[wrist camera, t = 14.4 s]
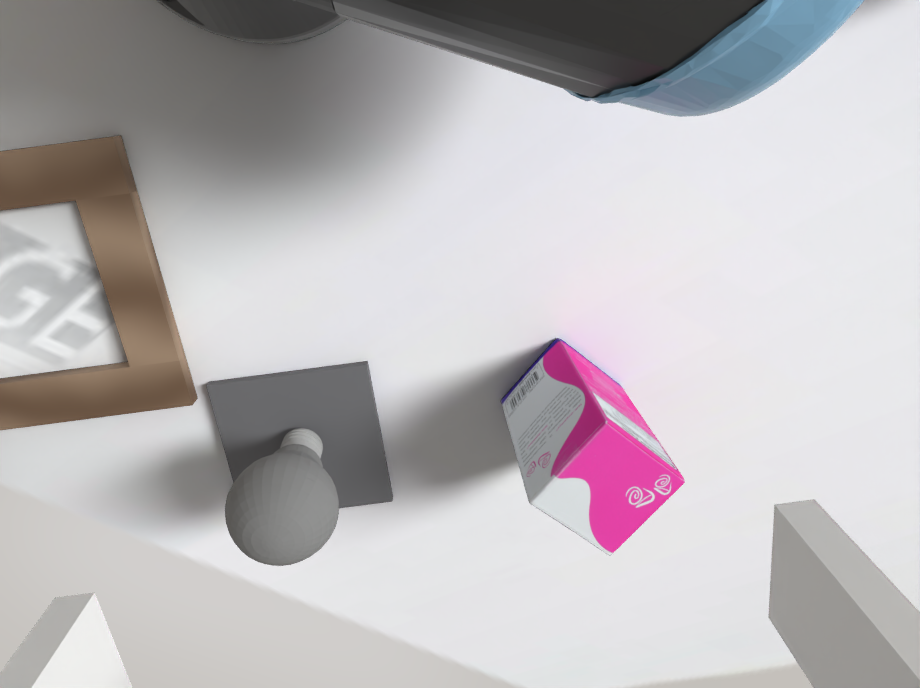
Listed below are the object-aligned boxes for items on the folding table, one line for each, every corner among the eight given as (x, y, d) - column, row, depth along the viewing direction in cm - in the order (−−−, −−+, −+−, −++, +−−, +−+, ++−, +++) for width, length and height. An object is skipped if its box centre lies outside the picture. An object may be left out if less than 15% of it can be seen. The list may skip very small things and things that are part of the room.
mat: (209, 381, 42) (206, 385, 42) (367, 361, 42) (366, 364, 42) (246, 515, 46) (244, 520, 45) (392, 496, 46) (392, 501, 45)
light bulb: (354, 479, 45) (337, 587, 35) (262, 484, 44) (221, 594, 35) (346, 399, 42) (326, 491, 33) (250, 402, 42) (202, 497, 33)
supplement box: (566, 449, 45) (608, 562, 34) (498, 400, 44) (520, 502, 33) (625, 386, 44) (689, 484, 33) (558, 333, 42) (602, 417, 31)
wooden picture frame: (-169, 173, 37) (-185, 175, 36) (120, 135, 37) (113, 136, 36) (-54, 430, 43) (-64, 438, 42) (197, 398, 43) (192, 405, 42)
